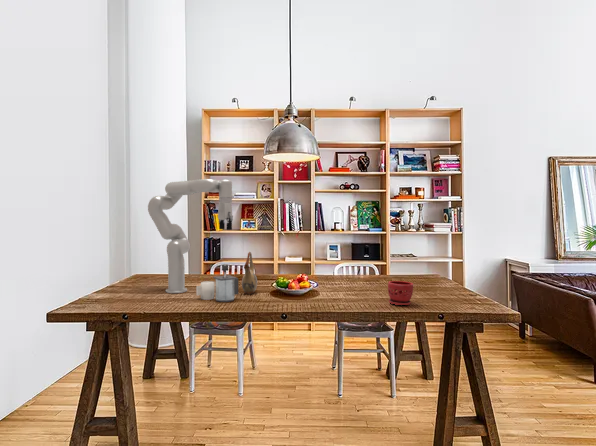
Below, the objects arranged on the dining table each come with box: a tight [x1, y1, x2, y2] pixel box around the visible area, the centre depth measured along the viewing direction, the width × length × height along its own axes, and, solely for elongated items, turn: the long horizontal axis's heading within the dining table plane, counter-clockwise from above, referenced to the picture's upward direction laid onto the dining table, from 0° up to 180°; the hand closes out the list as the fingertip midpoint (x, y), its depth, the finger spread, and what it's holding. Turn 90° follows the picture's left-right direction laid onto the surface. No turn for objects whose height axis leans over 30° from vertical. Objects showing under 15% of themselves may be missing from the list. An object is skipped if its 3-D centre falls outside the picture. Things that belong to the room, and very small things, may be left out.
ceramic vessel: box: [241, 251, 258, 295], centre depth 240 cm, size 16×9×25 cm, turn 172°
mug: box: [195, 280, 215, 301], centre depth 226 cm, size 8×10×9 cm
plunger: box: [221, 263, 229, 278], centre depth 222 cm, size 7×7×16 cm
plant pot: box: [387, 280, 414, 306], centre depth 215 cm, size 13×13×12 cm
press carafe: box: [212, 274, 239, 303], centre depth 223 cm, size 10×13×13 cm
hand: (225, 229), depth 238 cm, fingers open, 9 cm apart
